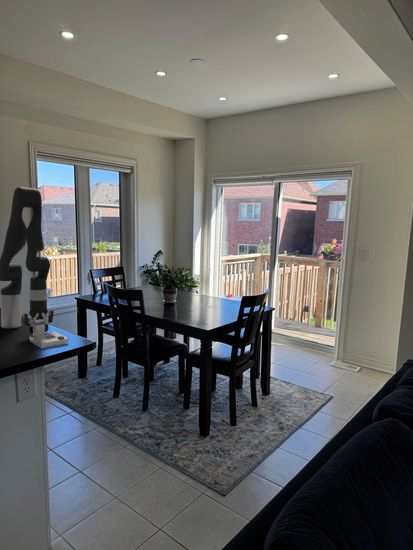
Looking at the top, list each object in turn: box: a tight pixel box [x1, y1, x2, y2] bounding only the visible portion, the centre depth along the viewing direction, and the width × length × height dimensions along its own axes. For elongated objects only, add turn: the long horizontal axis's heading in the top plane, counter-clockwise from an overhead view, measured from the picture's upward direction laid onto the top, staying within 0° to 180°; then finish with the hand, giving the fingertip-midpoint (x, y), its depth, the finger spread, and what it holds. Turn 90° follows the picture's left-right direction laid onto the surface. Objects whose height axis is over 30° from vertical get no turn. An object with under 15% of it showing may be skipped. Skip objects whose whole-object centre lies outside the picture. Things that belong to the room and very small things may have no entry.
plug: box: [32, 320, 46, 335], centre depth 182 cm, size 4×4×7 cm
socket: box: [29, 331, 69, 350], centre depth 174 cm, size 14×12×3 cm
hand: (38, 332), depth 182 cm, fingers open, 6 cm apart
